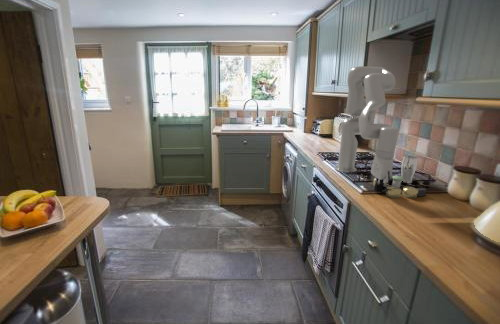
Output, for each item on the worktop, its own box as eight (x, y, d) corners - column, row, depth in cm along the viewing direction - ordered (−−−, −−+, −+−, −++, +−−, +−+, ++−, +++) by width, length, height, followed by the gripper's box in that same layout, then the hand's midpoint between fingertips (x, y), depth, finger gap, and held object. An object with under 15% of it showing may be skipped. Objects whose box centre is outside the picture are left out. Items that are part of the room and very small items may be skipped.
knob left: (388, 188, 131) (389, 181, 130) (376, 188, 130) (377, 181, 129) (377, 180, 140) (378, 174, 139) (366, 180, 140) (367, 174, 139)
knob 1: (402, 197, 121) (404, 190, 120) (394, 199, 118) (396, 192, 117) (383, 189, 129) (384, 182, 128) (375, 191, 126) (376, 184, 125)
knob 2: (407, 198, 119) (408, 191, 118) (399, 193, 125) (400, 186, 124) (428, 198, 120) (429, 191, 119) (419, 193, 126) (420, 186, 125)
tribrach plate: (369, 186, 136) (371, 173, 134) (397, 186, 137) (399, 173, 135) (389, 202, 118) (392, 188, 116) (421, 202, 119) (425, 188, 117)
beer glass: (414, 186, 138) (421, 159, 133) (400, 185, 139) (406, 158, 134) (409, 181, 144) (415, 155, 140) (396, 180, 145) (401, 154, 141)
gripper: (368, 149, 127) (363, 185, 132) (385, 158, 112) (378, 197, 118) (384, 149, 127) (377, 185, 132) (402, 158, 113) (394, 197, 118)
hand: (378, 190), depth 125 cm, fingers closed
